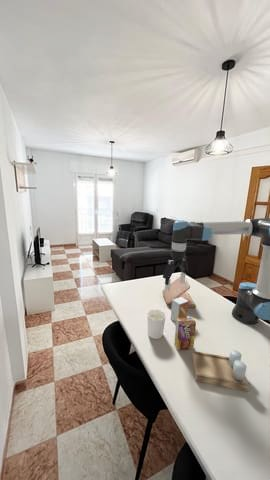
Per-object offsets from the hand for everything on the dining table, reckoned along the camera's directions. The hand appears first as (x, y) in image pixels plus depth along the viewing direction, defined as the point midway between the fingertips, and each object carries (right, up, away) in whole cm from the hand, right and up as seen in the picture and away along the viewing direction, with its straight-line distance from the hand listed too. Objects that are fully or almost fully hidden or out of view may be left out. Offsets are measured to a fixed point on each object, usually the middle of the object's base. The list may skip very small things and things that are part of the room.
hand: (174, 286), depth 109 cm
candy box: (+2, -28, -10) cm, 30 cm away
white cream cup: (-11, -26, -2) cm, 28 cm away
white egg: (+21, -29, -23) cm, 43 cm away
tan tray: (+14, -32, -24) cm, 42 cm away
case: (+10, -19, +35) cm, 41 cm away
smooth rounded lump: (+20, -30, -29) cm, 46 cm away
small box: (+5, -24, +12) cm, 27 cm away
